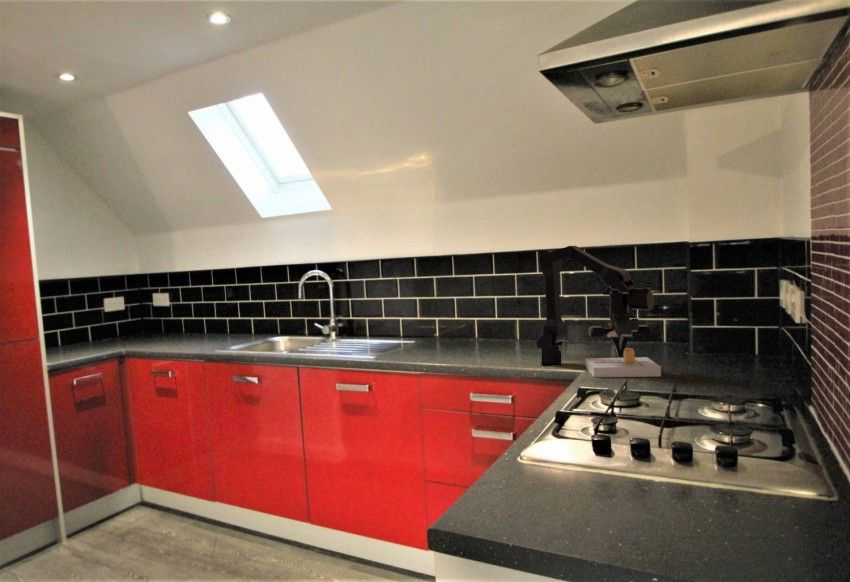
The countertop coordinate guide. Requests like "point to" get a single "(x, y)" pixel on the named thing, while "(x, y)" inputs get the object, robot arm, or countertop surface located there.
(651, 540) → the countertop surface
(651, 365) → the console
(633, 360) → the fader knob
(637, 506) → the countertop surface
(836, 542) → the countertop surface
